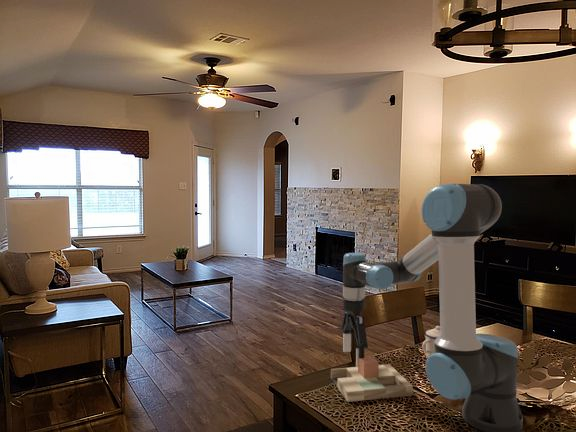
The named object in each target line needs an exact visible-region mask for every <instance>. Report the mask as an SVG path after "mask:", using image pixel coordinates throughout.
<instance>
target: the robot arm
mask: <svg viewBox="0 0 576 432" xmlns="http://www.w3.org/2000/svg"><path fill="white" fill-rule="evenodd" d="M421 204H422V205H421V219H422V221H423V222H424V223H425V226H426V227H427V228H428V229H430V230H431V233H430V234H429V235H428V236H427V237H426V238H424V239H423V240H422V241H420V242H419V243H418V244H417V245H415V247H413V248H412V249H411V250H409V251H408V252H407V253H406V254H405V255H403V256H402V257H401V258H400V259H398V260H392V261H386V262H385V261H384V262H377V263H376V262H375V263H373V262H368V261H367V259H366V255H365V254H364V253H361V252H348V253H347V252H346V253H344V255H343V263H342V267H343V268H342V297H343V299H342V309H343V315H342V321H341V327H340V328H341V329H340V330H342V333H343V334H342V338H343V339H342V341H343V342H342V352H344V353H348V352H349V353H350V352H351V351H352V333H353V332H354V337H355V338H354V339H355V342H356V346H355V347H354V348H355V367H358V357H359V358H364V357H366V356H365V354H366V349H368V348H369V345H368V340H367V331H366V327H365V326H366V325H365V317H364V316H361V313H362V312H363V311H365V309H366V299H365V298H366V291H367V288H366V286H367V287H371V288H373V289H375V290H378V289H379V290H386V289H388V288H389V287H390V286H391V285H399V284H408V283H412V282H416V281H418V280H420V279H421V276H422V274H423V272H424V271H425V270H426V269H428V268H430V267H431V266H432V265H433V264H435V263H436V262H437V261H438V286H439V287H438V288H439V289H438V290H439V292H438V293H439V295H438V296H439V298H438V299H439V324H440V325H439V326H440V336H439V337H438V338H436V339H435V353H433V354H431V355H430V356H429V358H428V357H426V358H427V359H426V361H425V373H426V376H427V379H428V381H429V383H430V385H431V386H432V387H433V389H434V390H435V392H437V393H438V394H439V395H440V396H442V397H444V398H445V399H448V400H460V399H464V402H463V403H462V407H461V416H462V419H463V420H464V421H465V423H467V424H468V425H470V427H473V428H475V429H476V430H480V431H481V432H521V431H522V430H523V427H524V419H523V414H522V411H521V408H520V404H519V401H518V399H517V389H518V388H517V385H518V365H519V363H518V361H519V355H518V354H519V351H518V350H519V348H518V346H517V345H516V343H515V342H514V341H513V340H510V339H508V338H505V337H502V336H499V335H498V336H497V335H493V334H488V333H477V323H476V322H477V318H476V281H475V280H476V278H475V273H476V272H475V243H476V241H477V240H479V239H480V237H481V234H483V232H485V231H486V230H488V229H490V228H491V227H492V226H493V225H494V224H495V223H496V222H497V221H498V220H499V218H500V217H501V214H502V210H503V209H502V208H503V206H502V205H503V203H502V200H501V198H500V196H499V194H498V192H496V191H495V190H494V189H493V188H492V187H490V186H488V185H485V184H481V183H473V184H471V183H447V184H439V185H437V186H435V187H433V188H431V189H430V190H429V192H428V193H427V194H426V195H425V197H424V198H423V201H422V203H421ZM352 330H353V332H352Z"/></svg>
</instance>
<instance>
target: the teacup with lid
mask: <svg viewBox="0 0 576 432" xmlns="http://www.w3.org/2000/svg"><path fill="white" fill-rule="evenodd" d="M439 336H440V325H436V326H435V327H434V328H432V329H428V330H426V331H425V340H424V341H422V345H421V348H422V351H423V353H425V357H426V358H429V356H430V355H431V354H433V353H435V339H436V338H438V337H439Z"/></svg>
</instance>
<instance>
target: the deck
mask: <svg viewBox="0 0 576 432" xmlns="http://www.w3.org/2000/svg"><path fill="white" fill-rule="evenodd" d="M330 379H331V380H332V381H333V383H334V385H335V386H336V387H337V389H338V390H339V392H340V393H341V395H342V396H343V397H344V399H345V400H346V402H347V403H349V402H359V401H370V400H378V399H379V400H380V399H381V398H382V399H389V398H390V397H391V398H401V397H410V396H411V397H412V396H413V395H414V388H413V387H414V386H413V385H412V383H410V382H409V381H408V380H407V379H406V378H405V377H404V376H402V374H401V373H399V372H398V371H397V370H396V369H395V368H394V367H393V366H392V365H391V364H390V363H389V364H379V377H373V378H363V377H362V376H361V375H360V373H359V372H358V367H356V366H351V367H340V368H339V367H338V368H330Z"/></svg>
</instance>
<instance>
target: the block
mask: <svg viewBox="0 0 576 432" xmlns="http://www.w3.org/2000/svg"><path fill="white" fill-rule="evenodd" d="M379 363H380V362H379V360H378V359H377V358H375V357H374V356H373V355H368V356H365V357H364V358H359V357H358V372H359V373H360V375H361V376H362V377H363V378H373V377H379V365H380V364H379Z"/></svg>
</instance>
